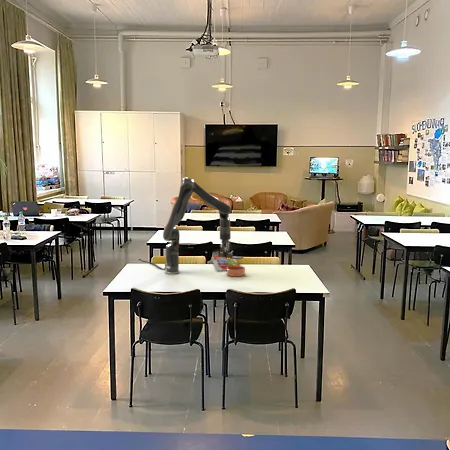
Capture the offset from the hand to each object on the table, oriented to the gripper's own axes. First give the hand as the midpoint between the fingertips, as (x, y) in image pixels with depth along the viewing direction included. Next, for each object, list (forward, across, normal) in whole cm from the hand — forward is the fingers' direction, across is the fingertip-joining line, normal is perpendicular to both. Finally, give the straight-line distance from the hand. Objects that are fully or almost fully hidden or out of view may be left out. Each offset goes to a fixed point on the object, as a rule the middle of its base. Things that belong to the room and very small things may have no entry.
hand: (225, 256), depth 318 cm
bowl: (+14, -8, +5) cm, 17 cm away
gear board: (+14, -35, -16) cm, 41 cm away
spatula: (0, 0, +5) cm, 5 cm away
